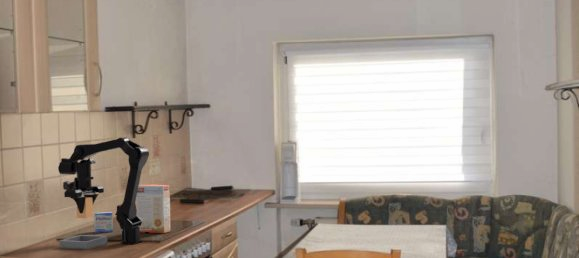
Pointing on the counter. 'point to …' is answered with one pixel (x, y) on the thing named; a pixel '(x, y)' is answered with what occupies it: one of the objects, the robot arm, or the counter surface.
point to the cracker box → (154, 208)
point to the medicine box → (103, 222)
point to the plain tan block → (86, 209)
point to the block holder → (83, 242)
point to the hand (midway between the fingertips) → (85, 212)
